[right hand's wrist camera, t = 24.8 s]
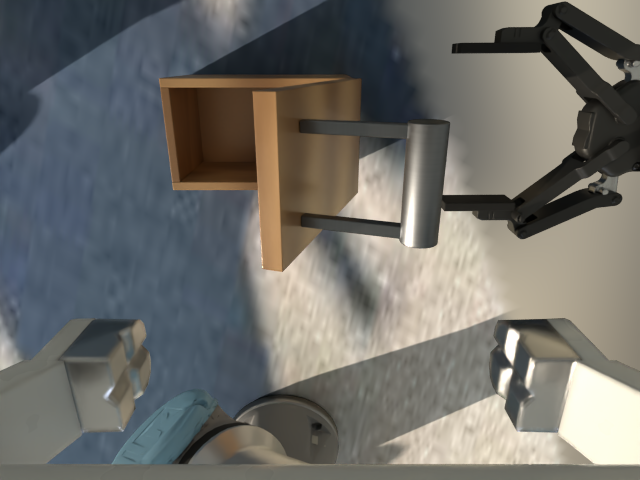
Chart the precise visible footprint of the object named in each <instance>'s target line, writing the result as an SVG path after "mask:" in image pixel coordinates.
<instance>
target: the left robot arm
mask: <svg viewBox="0 0 640 480" xmlns="http://www.w3.org/2000/svg"><path fill="white" fill-rule="evenodd" d="M558 29H560V30H562V31H563V32H565V33H567V34H568V35H570V36H572V37H573V38H575V39H577V40H578V41H580V42H582V43H583V44H585V45H587V46H588V47H590V48H592V49H593V50H595V51H597V52H598V53H600V54H602V55H603V56H605V57H607V58H610V59H613V60H618V61H617V62H616V66H617V67H618V69H619V70H621V71H623V72H624V73H625V80H622V81H620V82H618V83H616V84H615V85H613V86H611V85H610V84H609V83H607V82H605V81H604V80H603V79H602V78H601V77H600V76H599V75H598V74H597V73H596V72H595V71H594V70H593V69H592V67H591V66H590V65H589V64H588V63H587V62H586V61H585V60H584V59H583V57H582V56H581V55H580V54H579V53H578V52H577V51H576V50H575V49H574V47H573V46H572V45H571V44H570V43H569V42H568V41H567V40H566V39H565V37H564V36H563V35H562V34H561V33H560V32H559V31H558ZM537 52H541V53H542V54H543V55H544V56H545V57H546V58H547V59H548V60H549V61H550V62H551V63H552V64H553V65H554V67H555V68H556V69H557V70H558V71H559V72H560V73H561V74H562V75H563V76H564V77H565V78H566V79H567V80H568V82H569V83H570V84H571V85H572V86H573V87H574V88H575V89H576V93H577V94H578V95H579V96H580V97H581V98H582V99H583V100H584V101H585V103H586V105H585V106H584V107H583V109H582V111H579V112H578V117H577V126H578V128H577V130H576V133H575V135H574V137H573V142H572V145H574V147H575V151H574V152H573V153H571V154H570V155H568V156H567V157H566V158H564V159H563V161H562V163H561V164H560V165H559V166H557V167H556V168H555V169H553V170H552V171H551V172H549V173H548V174H547V175H545V176H544V177H542V178H541V179H540V180H538V181H537V182H535V183H534V184H533V185H531V186H530V187H529V188H527V189H526V190H524V191H523V192H522V193H520V194H519V195H518V196H516V197H515V198H513V199H512V200H511V199H509V198H508V197H507V196H505V195H442V204H441V208H442V209H443V210H444V211H473V212H472V214H473V215H474V216H475V217H476V218H478V219H480V220H508V225H507V226H508V228H509V230H510V231H512V232H513V233H514V234H515V235H516V236H517V237H518V238H520V239H526V238H528V237H530V236H532V235H535V234H537V233H539V232H542V231H544V230H546V229H548V228H551V227H553V226H556V225H558V224H560V223H562V222H565V221H567V220H569V219H572V218H574V217H576V216H579V215H581V214H583V213H586V212H588V211H590V210H593V209H595V208H599V207H608V206H616V205H618V204H620V202H621V201H622V196H621V194H619V193H617V192H616V190H617V183H618V176H620V175H622V174H624V173H626V172H631V171H640V45H639V44H635V43H633V42H631V41H630V40H628V39H626V38H625V37H623V36H622V35H620V34H618V33H617V32H615V31H613V30H612V29H610V28H609V27H607V26H605V25H604V24H602V23H600V22H599V21H597V20H596V19H594V18H592V17H591V16H589V15H587V14H586V13H584V12H583V11H581V10H579V9H578V8H576V7H574V6H573V5H571V4H570V3H568V2H560V3H556V4H552V5H548V6H546V7H545V8H544V9H543V11H542V17H541V20H540V21H539V23H538V24H537V25H536V26H535V27H508V28H502V29H500V30H497V31H496V34H495V42H494V43H458V44H453V45H452V53H537ZM584 161H585V162H584ZM597 171H598V172H599V173H601V174H602V176H601V178H600V179H599V180H598V181H596V182H594V183H590V184H589V185H588V188H585V189H582V190H578V191H576V192H573V193H571V194H569V195H566V196H564V197H562V198H560V199H557V200H555V201H553V202H550V201H551V200H553V199H554V198H555V197H557V196H558V195H560V194H561V193H562V192H564V191H565V190H567V189H568V188H570V187H571V186H572V185H574V184H575V183H577V182H578V181H579V180H581V179H583V178H588V177H590V176H591V175H593V174H594V173H596V172H597ZM548 202H550V203H548ZM547 203H548V204H547ZM545 204H546V205H545ZM337 454H338V432H337V428H336V426H335V423H334V421H333V420H332V418H331V417H330V416H329V414H328V413H327V412H326V411H325V410H324V409H322V408H321V407H320V406H318V405H317V404H315V403H313V402H311V401H309V400H306V399H303V398H300V397H295V396H288V395H275V396H268V397H264V398H261V399H258V400H255V401H253V402H251V403H249V404H248V405H246V406H245V407H244V408H242V409H241V410H240V411H239V412H238V413H237V414H236V416H235V417H234V419H232V418H231V417H229V416H228V415H227V414H226V413H225V412H224V411H223V410H222V409H221V408H220V406H219V405H218V402H217V400H216V399H213V398H212V397H211V396H210V395H209V394H208V393H207V392H206V391H204V390H201V389H193V390H189V391H186V392H184V393H181V394H180V395H178V396H176V397H174V398H173V399H171V400H170V401H169V402H167V403H166V404H165V405H163V406H162V407H161V408H159V409H158V410H157V411H156V412H155V413H153V414H152V415H151V416H150V417H149V418H148V419H147V420H146V421H145V422H144V423H143V424H142V425H141V426H140V427H139V428H138V429H137V430H136V431H135V433H134V434H133V435H132V436H131V437H130V438H129V440H128V441H127V442H126V443H125V445H124V446H123V447H122V449H121V450H120V451H119V453H118V454H117V456H116V458H115V459H114V461H113V463H112V464H335V462H336V459H337Z"/></svg>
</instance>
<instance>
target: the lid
mask: <svg viewBox="0 0 640 480" xmlns="http://www.w3.org/2000/svg"><path fill="white" fill-rule="evenodd" d="M253 108H254V126H255V145H256V163H257V182H258V200H259V218H260V237H261V255H262V269H267V270H274V271H280V272H283V271H284V270H285V269H286V268H287V267H288V266H289V265H290V264H291V262H292V261H293V260H294V259H295V258H296V257H297V256H298V255H299V254H300V253H301V252H302V251H303V250H304V249H305V248H306V247H307V246H308V245H309V243H310V242H311V241H312V240H313V239H314V238H315V237H316V236H317V235H318V234H319V233H320V232H321V231H322V230H331V231H340V232H348V233H356V234H365V235H373V236H382V237H390V238H399V240H400V242H401V243H402V244H403V245H406V246H408V247H412V248H431V247H434V246H436V245H437V242H438V233H439V223H440V214H441V204H442V195H443V186H444V176H445V167H446V157H447V148H448V138H449V129H450V122H448V121H444V120H436V119H415V120H410V121H408V123H393V122H369V121H360V110H361V78H345V79H338V80H330V81H323V82H316V83H308V84H301V85H293V86H286V87H278V88H271V89H263V90H256V91H253ZM360 136H363V137H383V138H402V139H407V140H406V154H405V168H404V182H403V196H402V210H401V223H395V222H386V221H376V220H367V219H358V218H349V217H339V216H336V215H337V214H338V213H339V212H340V211H341V210H342V209H343V208H344V207H345V206H346V204H347V203H348V202H349V201H350V200H351V199H352V198H353V197H354V196H355V195H356V194H357V193H358V172H359V141H360Z"/></svg>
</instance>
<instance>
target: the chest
mask: <svg viewBox="0 0 640 480" xmlns="http://www.w3.org/2000/svg"><path fill="white" fill-rule="evenodd" d="M345 78H352V77H350V76H348V75H183V76H174V77H165V78H159V82H160V87H161V88H160V89H161V97H162V105H163V113H164V121H165V129H166V136H167V144H168V152H169V160H170V168H171V176H172V184H173V190H258V182H257V163H256V145H255V126H254V108H253V91H256V90H263V89H271V88H278V87H286V86H293V85H301V84H308V83H316V82H323V81H330V80H338V79H345Z"/></svg>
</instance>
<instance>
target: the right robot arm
mask: <svg viewBox="0 0 640 480" xmlns="http://www.w3.org/2000/svg"><path fill="white" fill-rule="evenodd" d="M145 338H146V331H145V327H144V323H143V322H142V321H141V320H136V319H95V318H91V319H73V320H70V321H69V322H68V323H67V324H66V325H65V326H64V327H63V328H62V329H61V330H60V331H59V332H58V333H57V334H56V335H55V336H54V337H53V338H52V339H51V340H50V341H49V342H48V343H47V344H46V345H45V347H44V348H43V349H42V350H41V351H40V352H39V353H38V354H37V355H36V356H35V357H34V358H33V359H32V360H28V361H21V362H19V363H17V364H15V365H13V366H10V367H8V368H6V369H4V370H2V371H0V480H640V371H638V370H636V369H634V368H632V367H630V366H627V365H625V364H623V363H621V362H619V361H612V360H608V359H607V358H606V357H605V356H604V355H603V354H602V353H601V352H600V351H599V350H598V349H597V348H596V347H595V345H594V344H593V343H592V342H591V341H590V340H589V339H588V338H587V337H586V336H585V335H584V334H583V333H582V332H581V331H580V330H579V329H578V328H577V327H576V326H575V325H574V324H573V323H572V322H571V321H570V320H568V319H565V318H558V319H529V320H498V322H497V324H496V326H495V331H494V338H495V339H496V341H497V342H498V344H499V345H498V346H497V347H496V348H495V349H494V350H493V351H492V352H491V354H490V362H489V370H490V378H491V382H492V385H493V387H494V389H495V391H496V393H497V394H498V395H499V396H501V397H502V398H504V399H505V400H506V403H505V410H506V412H507V414H508V416H509V418H510V419H511V421H512V423H513V425H514V427H515V429H516V430H517V431H521V432H557V433H558V435H559V436H560V437H562V438H563V439H564V440H565V441H567V442H568V443H569V444H570V445H572V446H573V447H574V448H575V449H577V450H578V451H579V452H580V453H582V454H583V455H584V456H585V457H587V458H588V459H589V460H590V461H592V462H593V463H594V464H46V463H47V462H48V461H50V460H51V459H52V458H53V457H55V456H56V455H57V454H59V453H60V452H61V451H62V450H64V449H65V448H66V447H67V446H69V445H70V444H71V443H72V442H74V441H75V440H76V439H77V438H79V437H80V436H81V435H82V433H83V432H118V431H124V429H125V427H126V425H127V423H128V421H129V419H130V418H131V416H132V414H133V412H134V410H135V403H134V400H135V399H136V398H138V397H139V396H141V395H142V394H143V393H144V391H145V389H146V387H147V385H148V382H149V377H150V373H151V360H150V354H149V352H148V351H147V350H146V349H145V348H144V347H143V346H142V345H141V344H142V342H143V341H144V339H145Z"/></svg>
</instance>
